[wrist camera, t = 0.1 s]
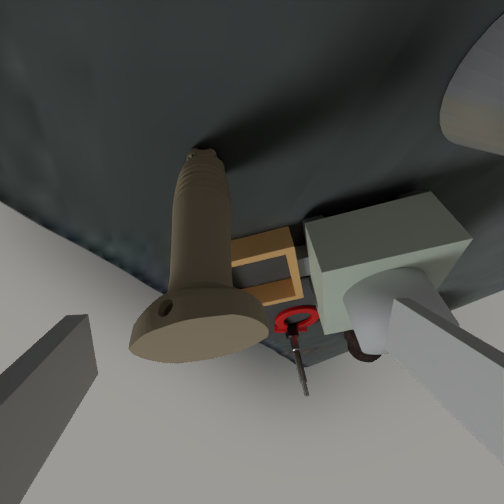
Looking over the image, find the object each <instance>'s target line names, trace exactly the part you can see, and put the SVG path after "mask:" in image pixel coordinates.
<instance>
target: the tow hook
mask: <svg viewBox="0 0 504 504" xmlns="http://www.w3.org/2000/svg"><path fill="white" fill-rule="evenodd" d="M297 313H309V314H311V316H310V317H309V318H308V319H306V320H304V321H302V322H299V323H298V324H297V325H296V324H288V323H286V322H284V320H285V319H286V318H287V317H289V316H291V315H293V314H297ZM318 319H319V314H318V311H317V308H316V307H313V306H296V307H292V308H288V309H286V310H284V311H282V312H281V313H279V314H278V315H277V317H276V319H275V322H276V325H275V326H274V331H275V333H280V332H285V333H286V338H287V339H289V340H290V344H291V349H292V351H293V353H294V357H295V362H296V366H297V370H298V374H299V379H300V383H302V386H303V390H304V395H305V396H309V392H308V388H307V384H306V382H307V379H306V375H305V371H304V367H303V363H302V359H301V355H300V351H299V350H300V348H299V344H298V340H297V337H298V336H299V333H298V332H304V331H307V326H309V325H311V324H313V323H315V322H316V321H317V320H318Z"/></svg>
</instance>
